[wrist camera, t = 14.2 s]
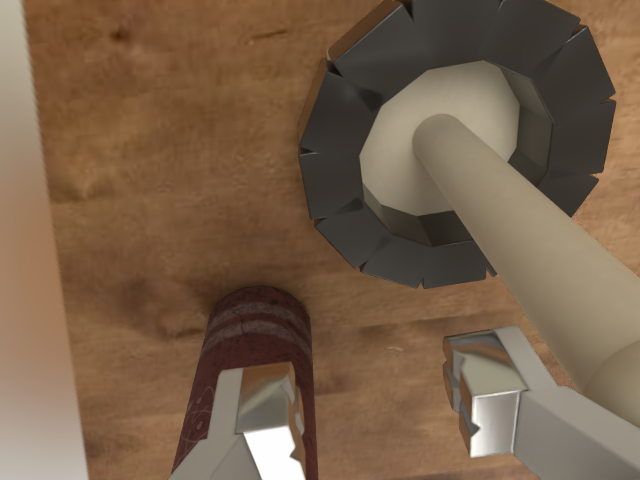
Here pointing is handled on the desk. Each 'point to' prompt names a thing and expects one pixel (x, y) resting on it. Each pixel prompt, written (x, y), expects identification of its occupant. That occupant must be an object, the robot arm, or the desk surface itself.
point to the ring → (406, 66)
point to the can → (252, 358)
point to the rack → (510, 223)
